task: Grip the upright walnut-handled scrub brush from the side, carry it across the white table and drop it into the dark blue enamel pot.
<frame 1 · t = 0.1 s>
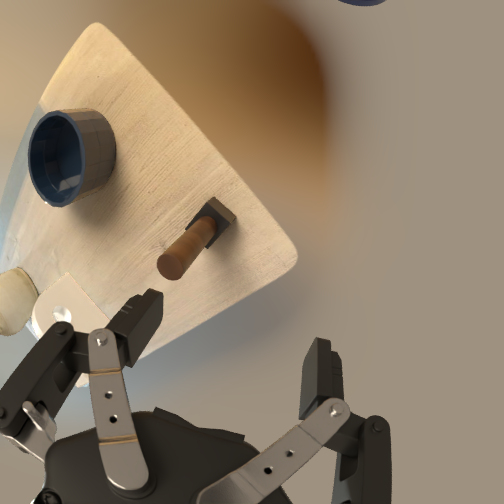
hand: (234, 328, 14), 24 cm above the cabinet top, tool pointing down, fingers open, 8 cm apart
pot: (83, 151, 36), on the cabinet top
brush: (213, 218, 38), on the cabinet top
tape dispenser: (86, 313, 53), on the cabinet top
jug: (26, 287, 56), on the cabinet top
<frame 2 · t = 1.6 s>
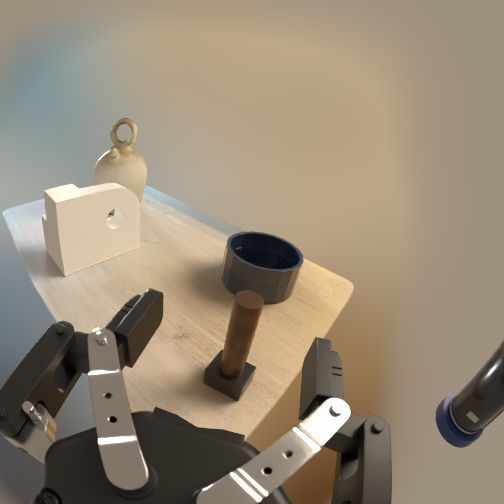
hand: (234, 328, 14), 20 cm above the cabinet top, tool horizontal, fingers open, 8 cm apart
pot: (257, 280, 55), on the cabinet top
brush: (227, 381, 33), on the cabinet top
tape dispenser: (91, 249, 51), on the cabinet top
jug: (118, 207, 72), on the cabinet top
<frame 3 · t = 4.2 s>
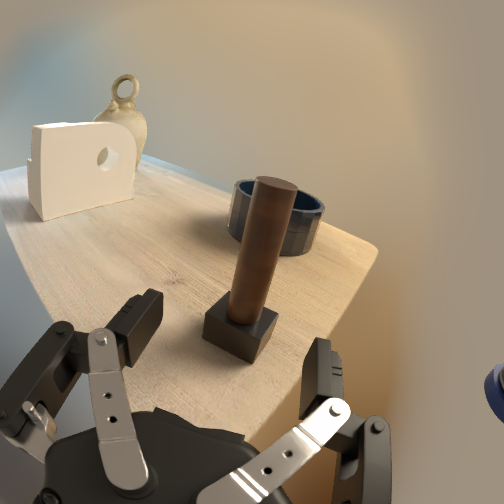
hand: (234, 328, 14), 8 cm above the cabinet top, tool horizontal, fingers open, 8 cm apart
pot: (270, 233, 46), on the cabinet top
brush: (237, 338, 24), on the cabinet top
tape dispenser: (78, 199, 43), on the cabinet top
jug: (114, 169, 64), on the cabinet top
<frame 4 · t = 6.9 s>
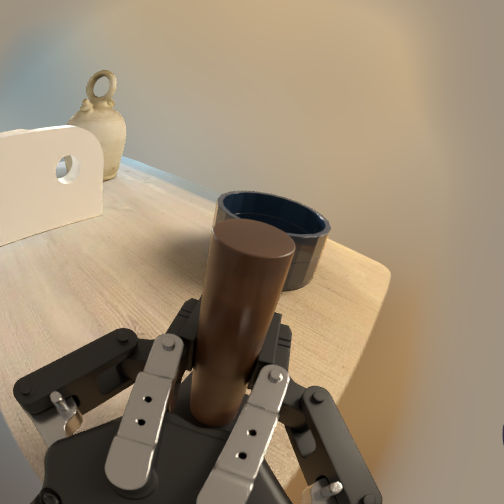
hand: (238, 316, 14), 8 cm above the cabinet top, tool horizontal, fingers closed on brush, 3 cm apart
pot: (262, 258, 38), on the cabinet top
brush: (208, 426, 16), on the cabinet top, touching gripper
tape dispenser: (42, 217, 34), on the cabinet top
jug: (91, 176, 55), on the cabinet top
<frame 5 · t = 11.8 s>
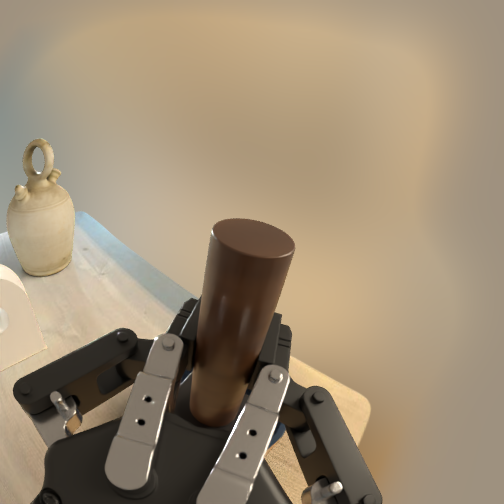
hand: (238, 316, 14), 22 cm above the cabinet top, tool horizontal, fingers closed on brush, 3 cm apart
pot: (214, 423, 28), on the cabinet top
brush: (208, 426, 16), point 14 cm above the cabinet top, touching gripper
jug: (46, 261, 46), on the cabinet top
when the fingers open (9 cm above the cabinet top, at t = 16.5 s): brush stays where it is, resting on pot.
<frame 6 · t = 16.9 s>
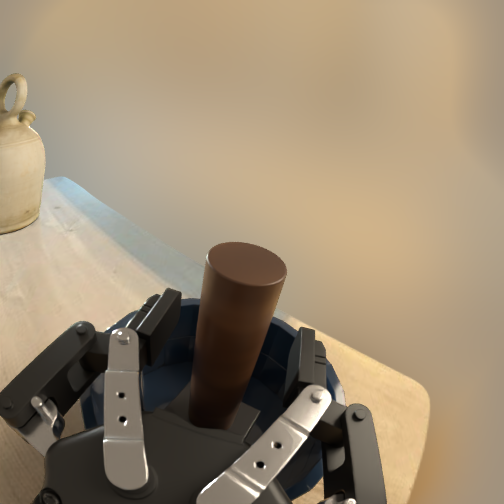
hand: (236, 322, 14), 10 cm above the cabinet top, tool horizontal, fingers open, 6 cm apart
pot: (206, 434, 16), on the cabinet top
brush: (207, 432, 16), point 1 cm above the cabinet top, touching pot
jug: (10, 219, 34), on the cabinet top
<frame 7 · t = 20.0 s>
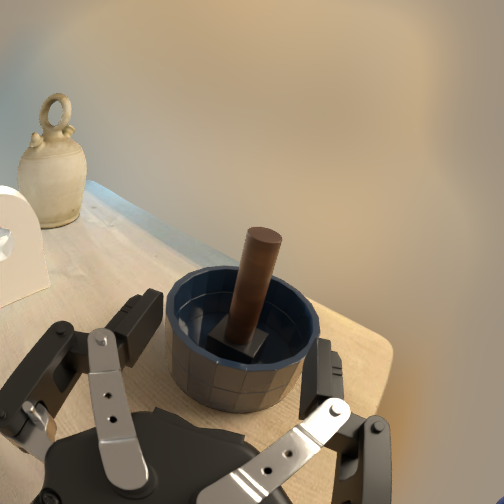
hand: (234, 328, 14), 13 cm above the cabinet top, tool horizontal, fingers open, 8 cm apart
pot: (232, 356, 29), on the cabinet top
brush: (233, 353, 28), point 1 cm above the cabinet top, touching pot
jug: (53, 217, 46), on the cabinet top
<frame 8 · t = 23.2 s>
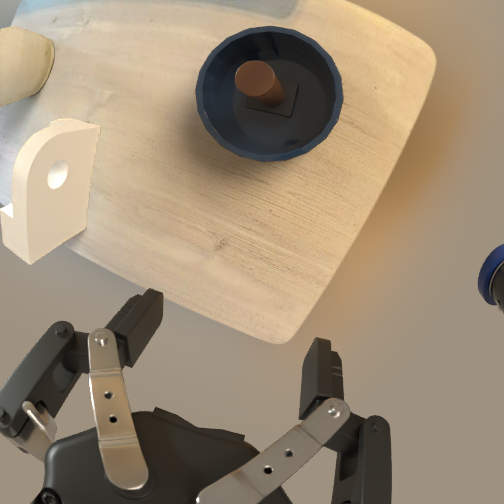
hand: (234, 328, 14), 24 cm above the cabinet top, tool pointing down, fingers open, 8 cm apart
pot: (274, 97, 29), on the cabinet top
brush: (274, 97, 29), point 1 cm above the cabinet top, touching pot
tape dispenser: (69, 170, 38), on the cabinet top
jug: (36, 66, 30), on the cabinet top
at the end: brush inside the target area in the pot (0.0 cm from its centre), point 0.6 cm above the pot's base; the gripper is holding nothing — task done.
